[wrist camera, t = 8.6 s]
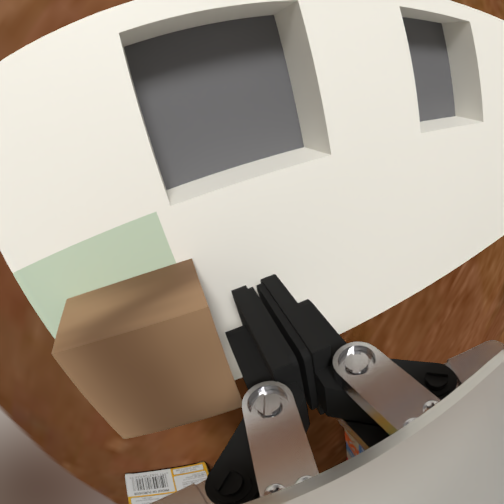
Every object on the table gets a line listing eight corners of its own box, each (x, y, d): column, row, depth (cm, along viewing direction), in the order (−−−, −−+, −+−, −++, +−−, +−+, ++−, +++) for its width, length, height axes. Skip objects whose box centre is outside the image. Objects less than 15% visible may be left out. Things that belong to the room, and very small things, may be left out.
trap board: (489, 25, 13) (515, 25, 11) (497, 212, 21) (518, 223, 19) (-22, 98, 7) (-52, 99, 5) (119, 382, 15) (121, 417, 13)
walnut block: (191, 258, 11) (208, 306, 8) (224, 354, 13) (243, 406, 11) (66, 298, 10) (51, 353, 7) (121, 385, 12) (124, 439, 10)
